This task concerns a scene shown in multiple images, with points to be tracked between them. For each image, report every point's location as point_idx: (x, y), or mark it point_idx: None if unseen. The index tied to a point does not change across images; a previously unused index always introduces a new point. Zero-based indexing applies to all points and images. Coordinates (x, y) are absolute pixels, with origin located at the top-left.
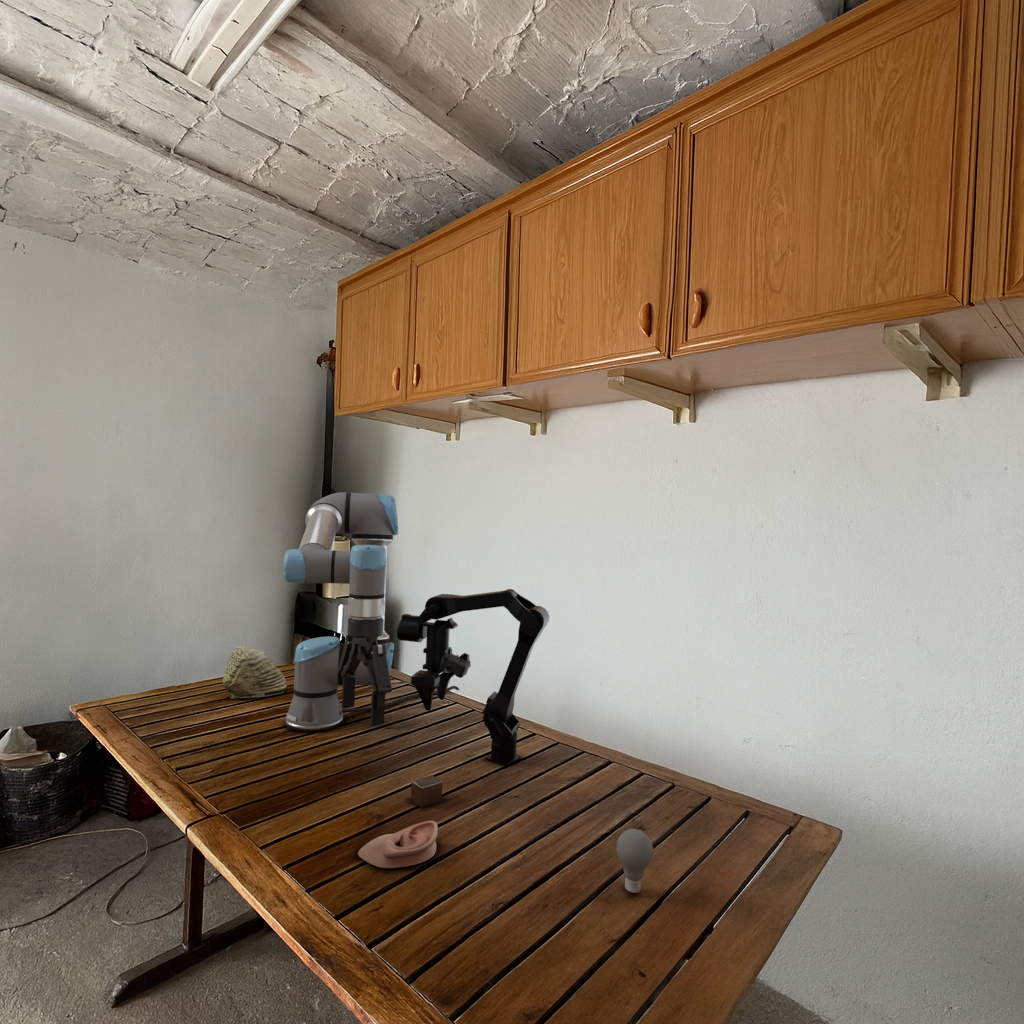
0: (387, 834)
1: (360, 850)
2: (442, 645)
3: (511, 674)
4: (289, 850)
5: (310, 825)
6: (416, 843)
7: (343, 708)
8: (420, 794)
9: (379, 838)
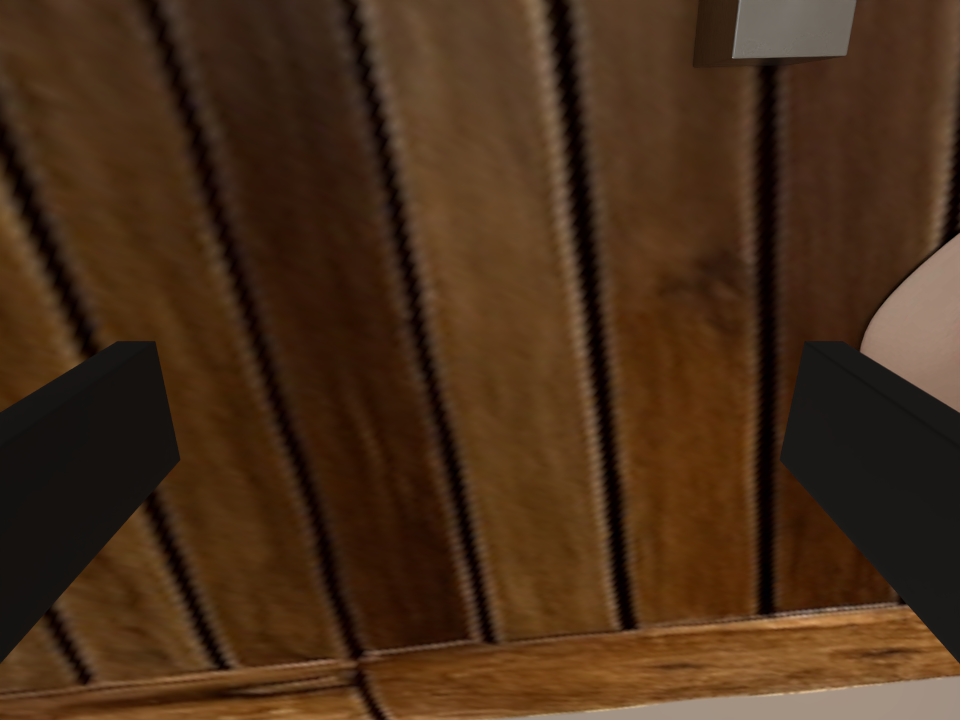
0: (899, 336)
1: None
2: None
3: None
4: (697, 579)
5: (602, 489)
6: None
7: (177, 456)
8: (809, 60)
9: (917, 384)
